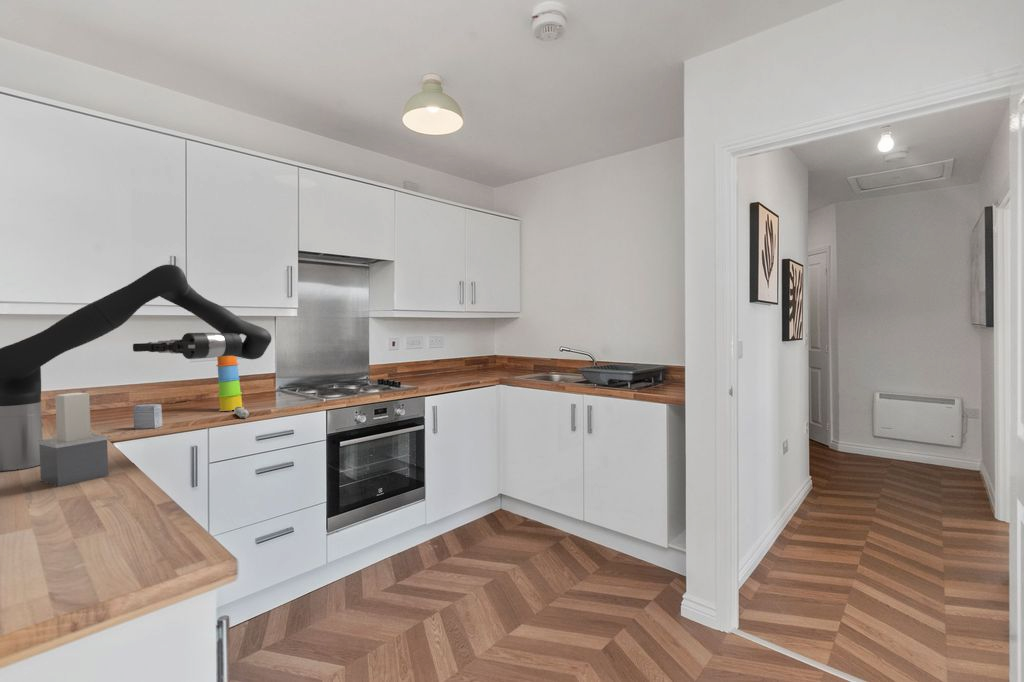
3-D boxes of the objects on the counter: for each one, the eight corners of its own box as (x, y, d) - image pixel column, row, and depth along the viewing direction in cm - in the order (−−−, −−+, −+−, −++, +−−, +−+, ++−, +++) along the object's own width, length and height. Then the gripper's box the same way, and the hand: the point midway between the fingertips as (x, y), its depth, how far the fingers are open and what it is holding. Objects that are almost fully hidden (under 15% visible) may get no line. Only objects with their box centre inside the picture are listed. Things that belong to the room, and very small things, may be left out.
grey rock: (231, 415, 221) (231, 399, 221) (243, 413, 224) (243, 398, 224) (239, 420, 207) (239, 404, 206) (252, 419, 210) (252, 403, 209)
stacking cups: (229, 412, 226) (227, 334, 225) (213, 411, 229) (210, 334, 228) (249, 408, 235) (246, 333, 234) (232, 408, 239) (230, 334, 238)
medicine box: (162, 426, 195) (162, 403, 195) (155, 428, 191) (154, 405, 191) (141, 426, 195) (140, 404, 195) (133, 429, 191) (132, 406, 191)
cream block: (56, 439, 126) (55, 394, 126) (81, 435, 130) (80, 392, 130) (66, 441, 123) (64, 395, 123) (90, 437, 128) (89, 393, 127)
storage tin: (39, 481, 125) (37, 440, 125) (90, 470, 134) (89, 432, 134) (57, 487, 120) (55, 444, 120) (109, 475, 129) (108, 436, 129)
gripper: (190, 332, 153) (127, 333, 139) (217, 332, 146) (154, 333, 132) (190, 357, 154) (128, 361, 140) (217, 358, 146) (155, 362, 132)
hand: (141, 347), depth 136 cm, fingers open, 8 cm apart
